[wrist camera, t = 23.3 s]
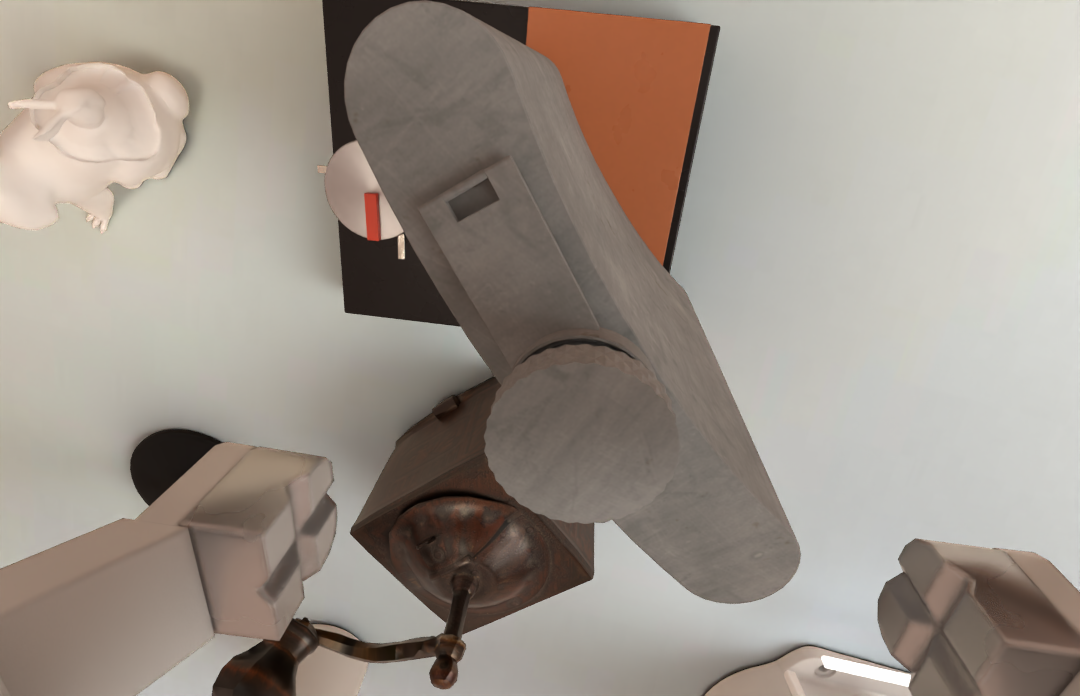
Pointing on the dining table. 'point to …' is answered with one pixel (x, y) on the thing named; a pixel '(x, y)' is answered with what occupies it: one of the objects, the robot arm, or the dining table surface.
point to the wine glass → (166, 460)
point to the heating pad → (629, 102)
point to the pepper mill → (437, 552)
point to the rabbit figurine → (88, 141)
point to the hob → (392, 265)
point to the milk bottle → (330, 671)
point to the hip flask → (562, 304)
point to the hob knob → (359, 195)
